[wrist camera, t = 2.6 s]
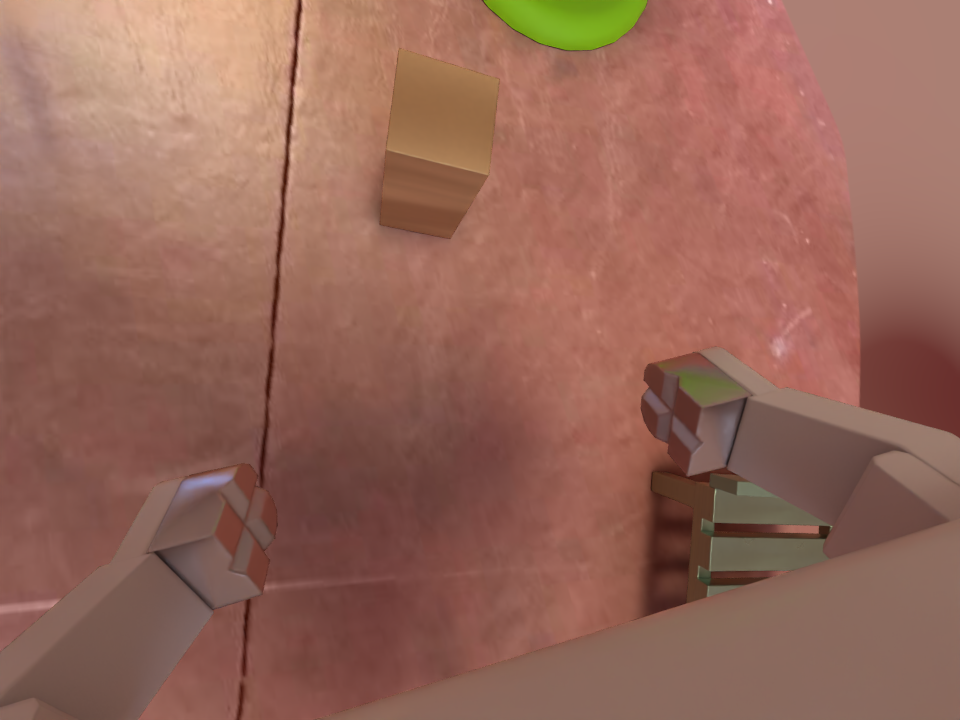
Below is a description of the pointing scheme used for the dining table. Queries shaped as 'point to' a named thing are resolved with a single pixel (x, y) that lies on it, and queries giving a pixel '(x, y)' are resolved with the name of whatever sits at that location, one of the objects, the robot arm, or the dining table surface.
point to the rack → (739, 550)
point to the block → (436, 144)
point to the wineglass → (570, 20)
